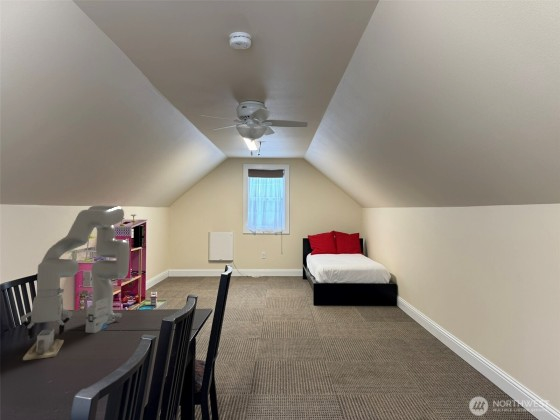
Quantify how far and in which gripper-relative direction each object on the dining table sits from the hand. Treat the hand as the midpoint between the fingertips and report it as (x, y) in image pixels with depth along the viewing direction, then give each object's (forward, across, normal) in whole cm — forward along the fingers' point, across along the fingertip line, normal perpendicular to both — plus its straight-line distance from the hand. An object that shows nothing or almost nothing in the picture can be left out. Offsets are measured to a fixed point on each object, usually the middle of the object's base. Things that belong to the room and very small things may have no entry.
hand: (46, 335), depth 130 cm
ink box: (+6, -16, -20) cm, 27 cm away
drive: (+5, 0, 0) cm, 5 cm away
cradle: (+6, 0, +1) cm, 6 cm away
